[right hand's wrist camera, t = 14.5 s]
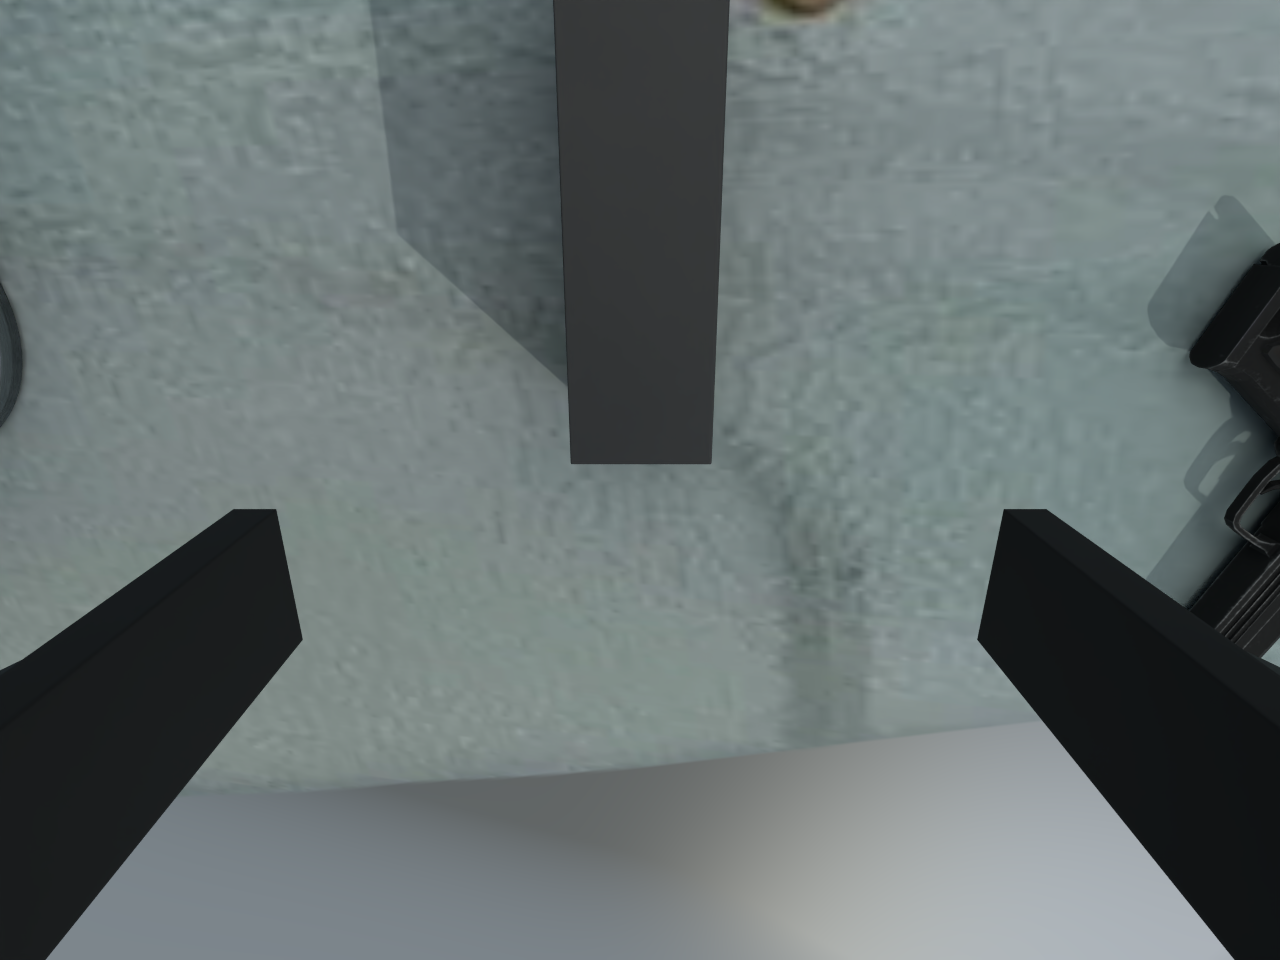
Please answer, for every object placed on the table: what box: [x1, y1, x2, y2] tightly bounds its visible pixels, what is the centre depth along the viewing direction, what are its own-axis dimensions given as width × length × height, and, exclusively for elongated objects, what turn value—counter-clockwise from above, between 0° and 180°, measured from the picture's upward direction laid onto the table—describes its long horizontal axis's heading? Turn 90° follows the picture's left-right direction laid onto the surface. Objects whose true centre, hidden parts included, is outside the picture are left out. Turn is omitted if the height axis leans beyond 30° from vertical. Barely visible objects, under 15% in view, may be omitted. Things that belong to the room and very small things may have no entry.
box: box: [553, 0, 729, 464], centre depth 29 cm, size 20×6×10 cm, turn 0°
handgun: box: [1189, 243, 1280, 658], centre depth 37 cm, size 3×21×14 cm
